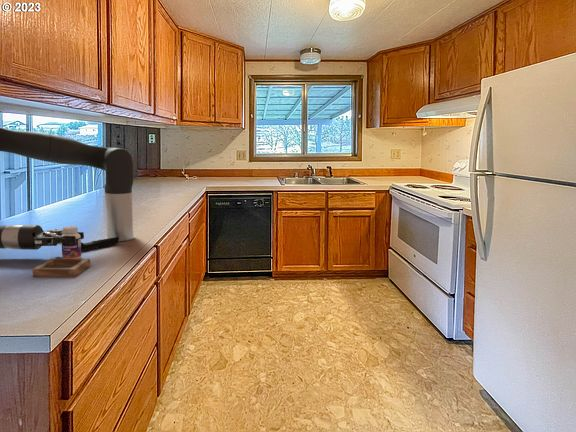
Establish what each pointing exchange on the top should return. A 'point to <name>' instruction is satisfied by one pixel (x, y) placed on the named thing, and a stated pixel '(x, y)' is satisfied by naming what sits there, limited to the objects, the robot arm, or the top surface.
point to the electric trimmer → (99, 243)
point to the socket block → (48, 269)
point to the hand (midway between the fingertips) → (79, 237)
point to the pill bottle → (71, 249)
